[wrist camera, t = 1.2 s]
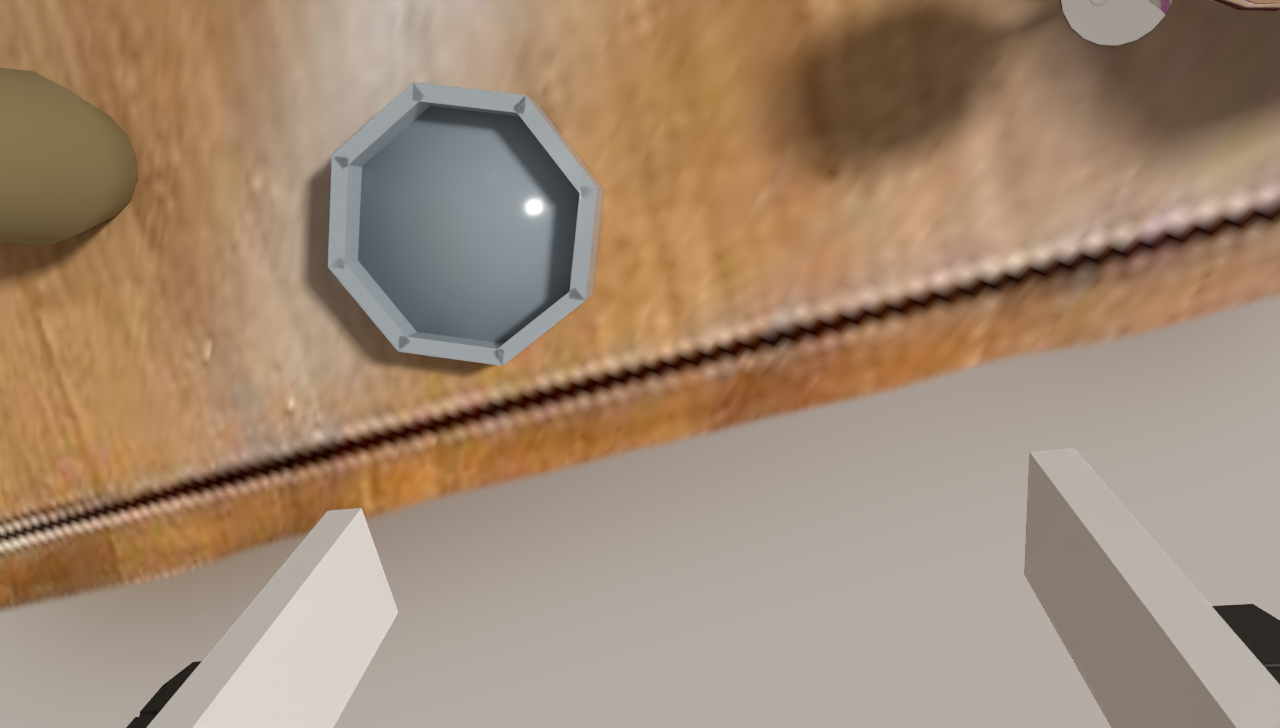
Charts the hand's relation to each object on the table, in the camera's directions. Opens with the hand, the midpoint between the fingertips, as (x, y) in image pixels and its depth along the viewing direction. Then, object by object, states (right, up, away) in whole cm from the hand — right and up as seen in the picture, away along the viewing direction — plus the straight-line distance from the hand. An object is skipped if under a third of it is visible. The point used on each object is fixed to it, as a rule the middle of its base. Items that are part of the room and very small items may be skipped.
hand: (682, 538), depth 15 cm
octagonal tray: (-9, +10, +23) cm, 27 cm away
